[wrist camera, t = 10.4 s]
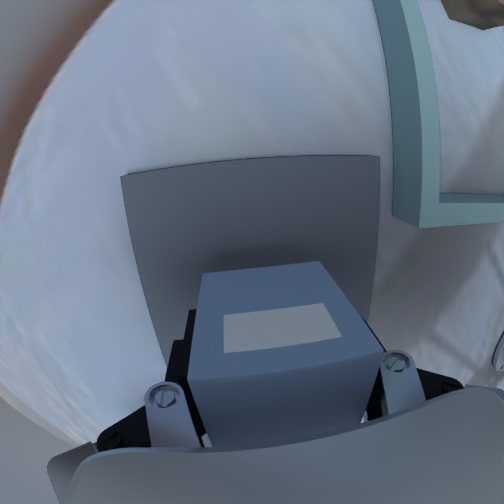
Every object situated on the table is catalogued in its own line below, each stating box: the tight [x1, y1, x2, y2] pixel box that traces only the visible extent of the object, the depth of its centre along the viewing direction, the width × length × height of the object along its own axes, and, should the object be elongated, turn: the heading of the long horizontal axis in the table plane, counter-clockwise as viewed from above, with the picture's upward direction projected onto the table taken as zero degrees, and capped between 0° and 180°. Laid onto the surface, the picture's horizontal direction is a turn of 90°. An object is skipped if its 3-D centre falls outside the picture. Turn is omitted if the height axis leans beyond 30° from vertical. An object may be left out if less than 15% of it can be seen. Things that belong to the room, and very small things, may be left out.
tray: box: [373, 0, 504, 228], centre depth 10 cm, size 19×25×3 cm
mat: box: [120, 155, 380, 367], centre depth 16 cm, size 14×14×1 cm
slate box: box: [187, 261, 384, 447], centre depth 10 cm, size 5×5×6 cm
